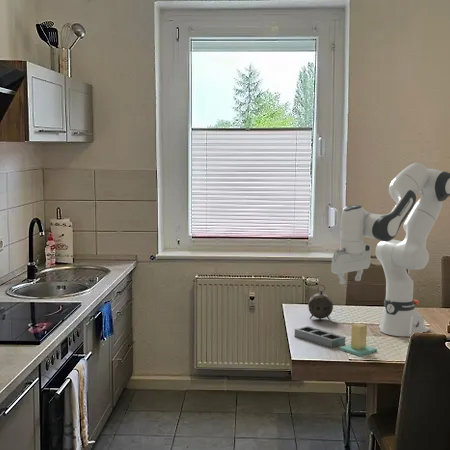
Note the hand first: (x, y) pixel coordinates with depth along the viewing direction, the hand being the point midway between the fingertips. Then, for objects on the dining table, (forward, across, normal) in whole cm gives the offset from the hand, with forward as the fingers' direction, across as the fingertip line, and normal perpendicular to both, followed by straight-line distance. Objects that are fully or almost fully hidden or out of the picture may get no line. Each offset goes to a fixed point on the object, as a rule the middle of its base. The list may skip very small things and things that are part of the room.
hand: (350, 282), depth 250 cm
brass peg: (+24, -2, -6) cm, 25 cm away
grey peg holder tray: (+25, -4, +12) cm, 28 cm away
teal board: (+25, -2, -6) cm, 26 cm away
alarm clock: (+26, +21, +32) cm, 46 cm away
